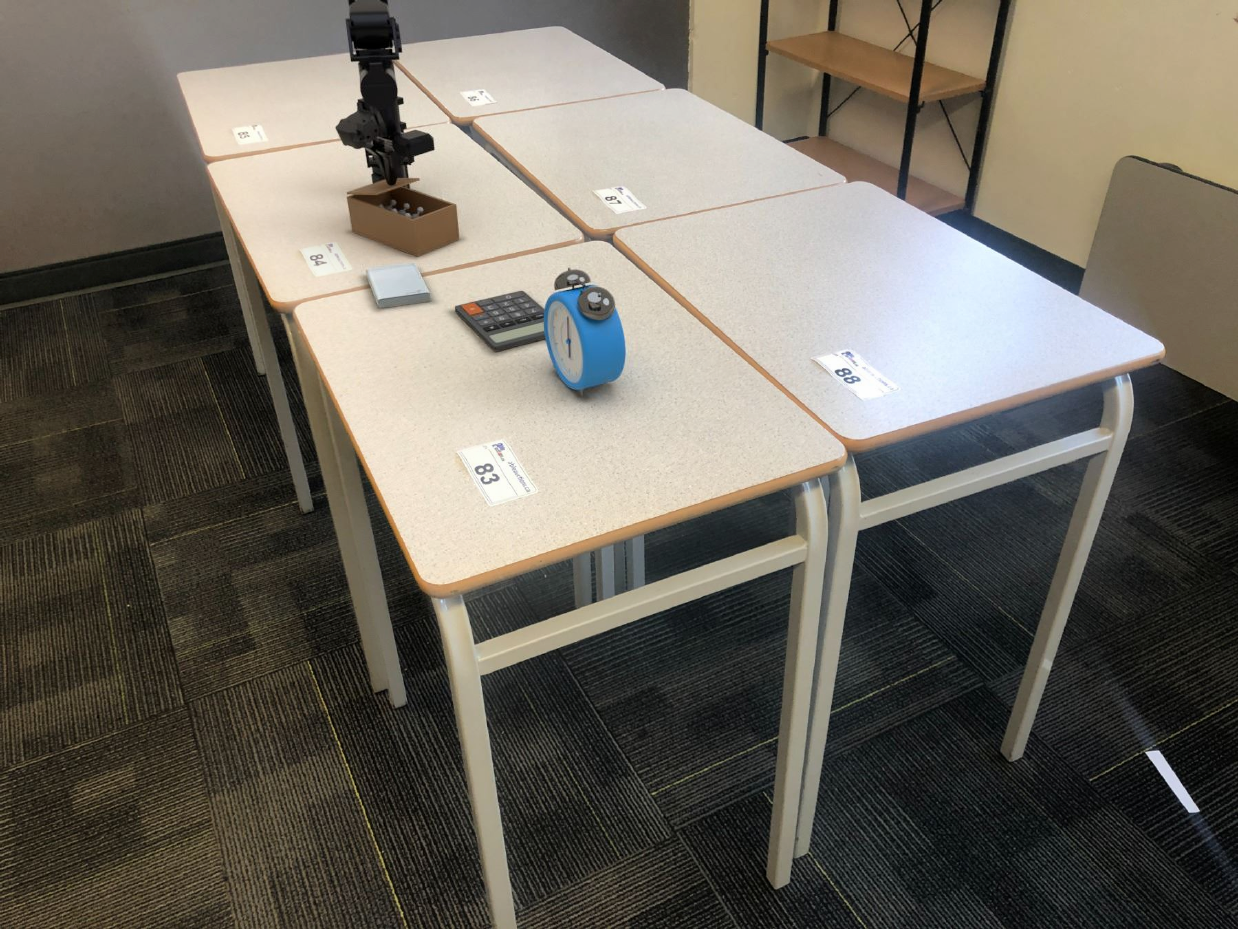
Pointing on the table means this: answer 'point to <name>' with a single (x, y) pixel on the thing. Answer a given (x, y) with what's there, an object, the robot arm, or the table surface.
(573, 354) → the alarm clock
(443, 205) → the carton
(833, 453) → the table surface
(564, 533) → the table surface
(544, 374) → the table surface
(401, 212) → the molecular model
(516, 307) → the calculator
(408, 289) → the hard drive
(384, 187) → the carton flap
